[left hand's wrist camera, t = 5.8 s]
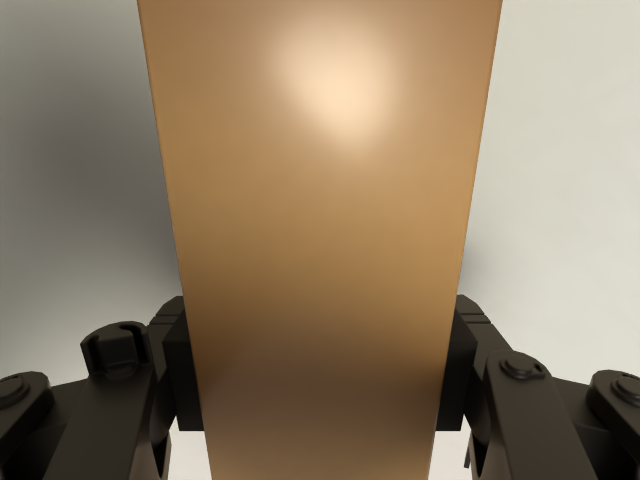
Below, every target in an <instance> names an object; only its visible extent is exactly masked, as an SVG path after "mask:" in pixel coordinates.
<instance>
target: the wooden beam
mask: <svg viewBox="0 0 640 480" xmlns="http://www.w3.org/2000/svg"><path fill="white" fill-rule="evenodd" d="M502 1H503V0H137V4H138V11H139V17H140V23H141V30H142V36H143V43H144V49H145V55H146V62H147V68H148V74H149V81H150V87H151V94H152V100H153V106H154V113H155V119H156V126H157V132H158V138H159V145H160V151H161V157H162V164H163V170H164V177H165V183H166V189H167V196H168V202H169V208H170V215H171V221H172V228H173V234H174V240H175V247H176V253H177V260H178V266H179V272H180V279H181V285H182V291H183V298H184V304H185V311H186V317H187V323H188V330H189V336H190V342H191V349H192V355H193V362H194V368H195V374H196V381H197V387H198V393H199V400H200V406H201V413H202V419H203V425H204V432H205V438H206V445H207V451H208V457H209V464H210V470H211V476H212V480H428V475H429V469H430V462H431V456H432V450H433V443H434V437H435V430H436V424H437V417H438V411H439V405H440V398H441V392H442V385H443V379H444V373H445V366H446V360H447V353H448V347H449V341H450V334H451V328H452V321H453V315H454V309H455V302H456V296H457V289H458V283H459V276H460V270H461V264H462V257H463V251H464V244H465V238H466V232H467V225H468V219H469V212H470V206H471V200H472V193H473V187H474V180H475V174H476V168H477V161H478V155H479V148H480V142H481V135H482V129H483V123H484V116H485V110H486V103H487V97H488V91H489V84H490V78H491V71H492V65H493V59H494V52H495V46H496V39H497V33H498V27H499V20H500V14H501V7H502Z"/></svg>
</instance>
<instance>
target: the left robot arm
mask: <svg viewBox="0 0 640 480" xmlns="http://www.w3.org/2000/svg"><path fill="white" fill-rule="evenodd" d="M80 346H81V349H82V353H83V356H84V359H85V362H86V366H87V369H88V372H89V376H88V378H87V379H83V380H80V381H75V382H71V383H66V384H61V385H57V386H52V387H51V386H50V383H49V380H48V377H47V376H46V375H44V374H43V373H42V372H34V371H30V372H23V373H18V374H14V375H11V376H8V377H5V378H2V379H1V380H0V480H168V471H169V463H170V454H171V438H170V433H169V429H170V427H171V425H172V423H173V420H174V418H175V416H176V417H177V422H178V427H179V431H204V425H203V419H202V413H201V406H200V400H199V393H198V387H197V381H196V374H195V368H194V362H193V355H192V349H191V342H190V336H189V330H188V323H187V317H186V311H185V304H184V298H183V296H176V297H174V298H173V299H171V300H170V301H168V302H167V303H165V304H164V305H163V306H162V307H161V308H160V310H159V311H158V312H157V314H156V317H153V319H152V320H151V321H150V323H149V325H147V326H145V325H144V324H142V323H139V322H135V321H124V322H118V323H113V324H109V325H107V326H104V327H102V328H99V329H97V330H95V331H94V332H92V333H91V334H89V335H88V336H86V337H85V339H84V340H83V341H82V342H81V343H80ZM464 415H465V417H466V419H467V421H468V423H469V426H470V428H471V433H470V438H469V443H468V447H467V452H466V457H465V463H464V467H465V468H469V465H470V462H471V470H472V479H473V480H640V378H639V377H637V376H634V375H632V374H629V373H625V372H621V371H615V370H601V371H598V372H596V373H595V374H594V375H593V376H592V379H591V382H590V385H586V384H581V383H577V382H572V381H567V380H563V379H559V378H555V377H552V376H551V374H550V372H549V371H548V370H547V368H546V367H545V366H544V365H543V364H541V363H540V362H539V361H538V360H536V359H535V358H533V357H531V356H528V355H526V354H524V353H521V352H517V351H514V350H513V349H512V348H511V347H510V346H509V344H508V343H507V342H506V340H505V339H504V338H503V337H502V335H501V334H500V333H499V332H498V330H497V329H496V328H495V326H494V325H493V324H491V321H490V320H489V319H488V317H487V316H486V315H484V312H483V311H482V310H481V308H480V307H479V306H478V305H477V303H475V302H474V301H472V300H471V299H469V298H467V297H466V296H464V295H457V296H456V302H455V309H454V315H453V321H452V328H451V334H450V341H449V347H448V353H447V360H446V366H445V373H444V379H443V385H442V392H441V398H440V405H439V411H438V417H437V424H436V430H435V431H461V426H462V421H463V416H464Z"/></svg>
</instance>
